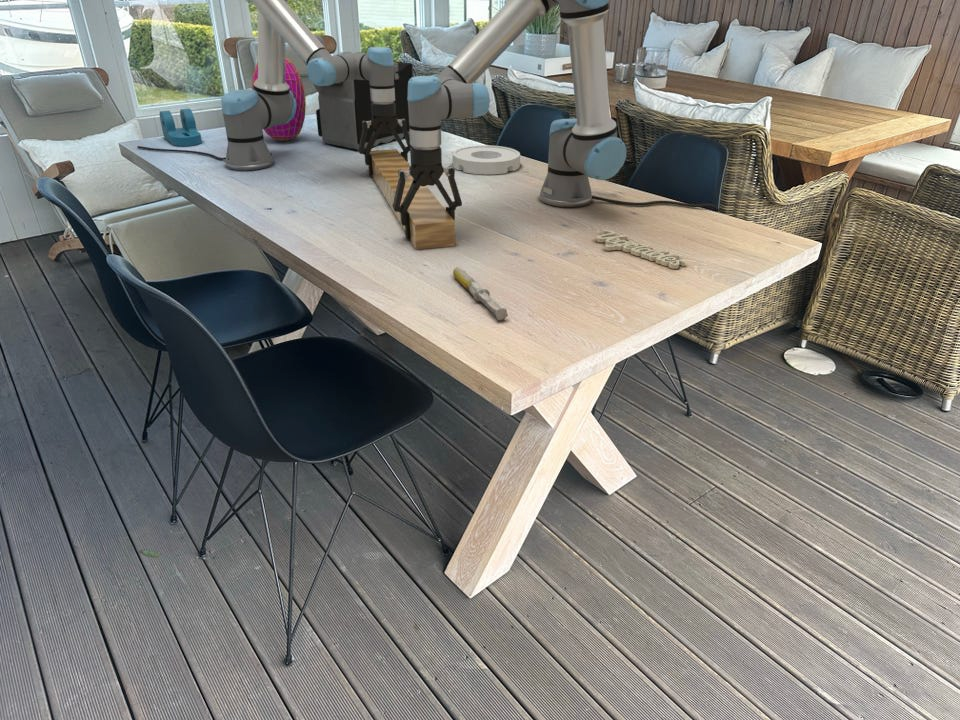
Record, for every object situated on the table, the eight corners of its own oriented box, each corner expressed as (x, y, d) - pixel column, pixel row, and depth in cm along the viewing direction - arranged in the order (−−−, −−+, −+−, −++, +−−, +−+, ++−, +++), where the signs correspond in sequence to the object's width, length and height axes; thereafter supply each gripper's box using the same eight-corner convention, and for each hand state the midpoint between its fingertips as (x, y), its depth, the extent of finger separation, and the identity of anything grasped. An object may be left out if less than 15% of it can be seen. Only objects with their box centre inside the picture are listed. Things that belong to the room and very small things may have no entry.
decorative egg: (293, 132, 276) (283, 50, 261) (319, 140, 264) (310, 56, 249) (249, 139, 265) (236, 54, 250) (273, 148, 253) (261, 60, 238)
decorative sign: (581, 237, 173) (606, 228, 179) (581, 241, 174) (606, 232, 179) (668, 269, 156) (693, 258, 162) (668, 273, 157) (693, 262, 162)
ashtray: (454, 156, 246) (454, 144, 244) (519, 157, 245) (519, 146, 243) (450, 173, 226) (450, 161, 224) (520, 175, 225) (521, 162, 223)
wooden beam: (455, 245, 170) (454, 221, 167) (416, 249, 168) (415, 224, 165) (397, 168, 232) (396, 149, 228) (368, 170, 229) (367, 150, 226)
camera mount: (164, 137, 265) (157, 109, 260) (192, 134, 270) (186, 106, 265) (176, 147, 253) (170, 117, 247) (205, 143, 258) (200, 114, 252)
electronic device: (379, 127, 286) (374, 48, 270) (420, 134, 275) (417, 53, 259) (313, 143, 260) (303, 57, 245) (355, 152, 249) (347, 63, 234)
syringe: (449, 274, 155) (449, 263, 153) (465, 272, 156) (464, 260, 154) (490, 323, 135) (491, 310, 133) (508, 319, 136) (508, 307, 134)
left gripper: (416, 98, 218) (418, 168, 230) (344, 101, 213) (351, 173, 224) (421, 102, 212) (423, 174, 223) (348, 106, 206) (354, 179, 218)
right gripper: (466, 140, 170) (466, 226, 181) (376, 145, 164) (382, 234, 176) (475, 147, 164) (474, 235, 175) (381, 153, 158) (387, 244, 169)
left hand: (387, 174), depth 224 cm, fingers closed on wooden beam, 10 cm apart
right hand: (428, 235), depth 175 cm, fingers closed on wooden beam, 10 cm apart
